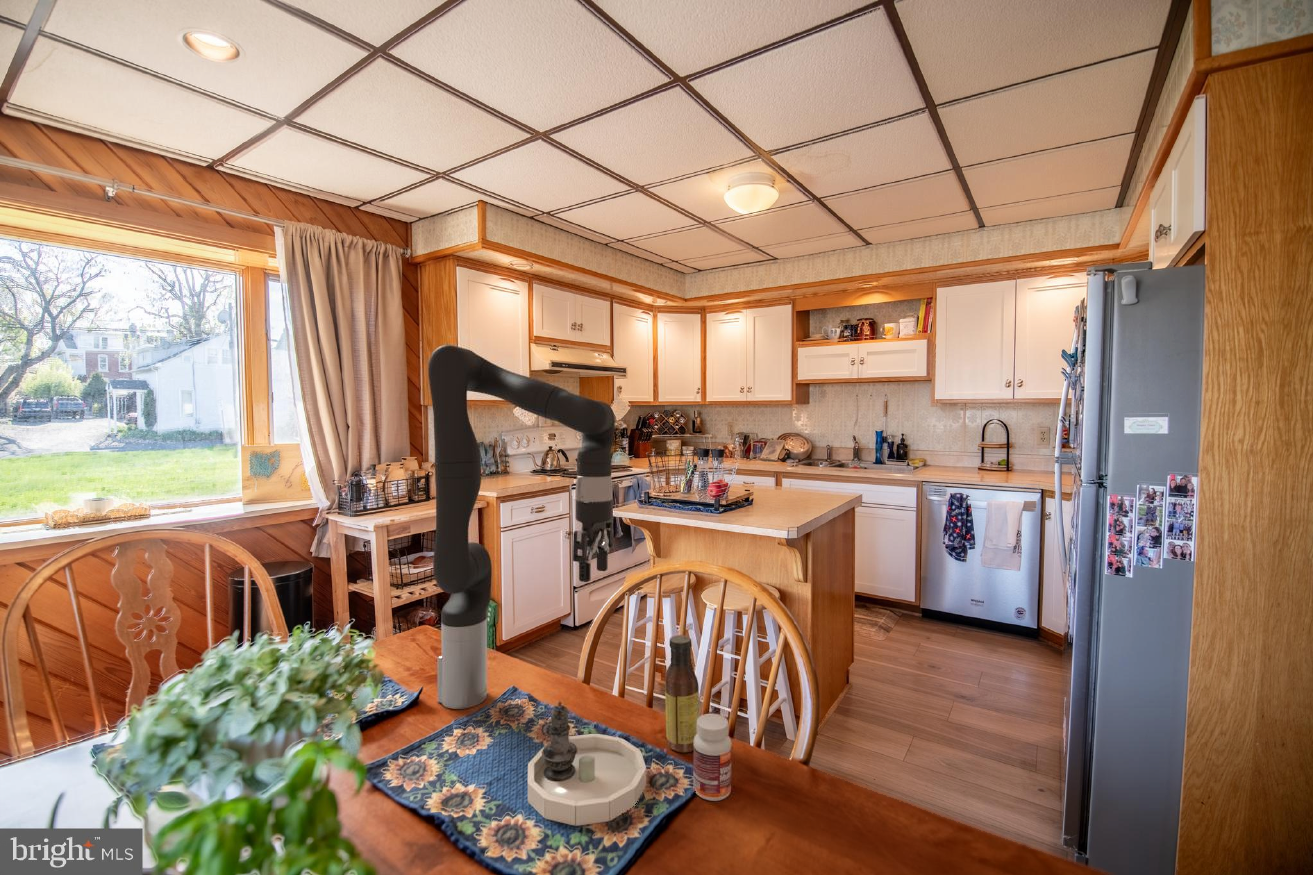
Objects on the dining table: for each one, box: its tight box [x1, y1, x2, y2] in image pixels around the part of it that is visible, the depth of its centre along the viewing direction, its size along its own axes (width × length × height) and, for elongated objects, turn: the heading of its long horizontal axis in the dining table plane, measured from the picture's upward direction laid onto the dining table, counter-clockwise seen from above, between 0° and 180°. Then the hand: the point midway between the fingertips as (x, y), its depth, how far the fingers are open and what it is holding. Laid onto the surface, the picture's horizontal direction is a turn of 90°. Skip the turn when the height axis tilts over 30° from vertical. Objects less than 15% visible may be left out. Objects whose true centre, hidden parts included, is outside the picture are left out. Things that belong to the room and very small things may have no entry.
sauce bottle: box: [664, 634, 701, 753], centre depth 105 cm, size 6×6×20 cm
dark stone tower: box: [542, 701, 577, 782], centre depth 96 cm, size 6×6×12 cm
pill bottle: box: [692, 713, 732, 802], centre depth 93 cm, size 6×6×11 cm
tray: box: [527, 733, 647, 827], centre depth 94 cm, size 19×19×4 cm
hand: (593, 575), depth 118 cm, fingers open, 8 cm apart
